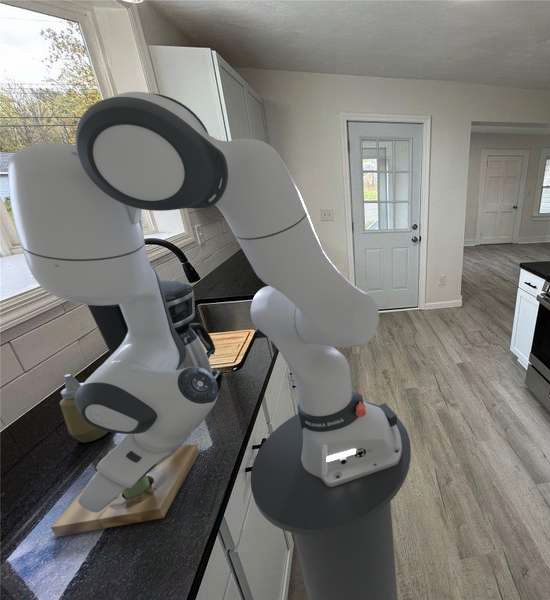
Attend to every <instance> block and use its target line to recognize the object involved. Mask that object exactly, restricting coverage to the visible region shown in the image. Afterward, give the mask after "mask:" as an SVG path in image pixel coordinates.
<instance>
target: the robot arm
mask: <svg viewBox="0 0 550 600" xmlns="http://www.w3.org/2000/svg"><path fill="white" fill-rule="evenodd" d="M74 136H75V137H74V139H75V140H74V144H72V143H71V144H70V143H62V142H44V143H38V144H37V143H36V144H32V145H29V146H25V147H23V148H20V149H19V150H17V151H16V152H15V153H14V154H13V155H12V156H11V157H10V159H9V161H8V165H7V179H8V180H7V183H8V193H9V202H10V208H11V214H12V219H13V223H14V227H15V231H16V234H17V237H18V238H17V239H18V241H19V244H20V246H21V250H22V252H23V256H24V259H25V262H26V265H27V267H28V269H29V271H30V273H31V275H32V276H33V278H34V280H35V281H36V282H37V283H38V285H39V286H40V288H42V289H43V290H44V291H45V292H47V293H49V294H50V295H52V296H54V297H56V298H58V299H61V300H64V301H65V302H70V303H74V304H78V305H84V306H88V305H97V306H104V305H117V304H119V306H120V308H121V311H122V313H123V316H124V319H125V321H126V324H127V326H128V333H127V335H126V337H125V339H124V341H123V342H122V344H121V345H120V346H119V348H118V349H117V350H116V351H115V352H114V353H113V354H112V355H111V354H110V356H109V357H107V358H106V360H105V361H104V362H103V363H102V364H101V365H100V366H99V367H97V368H96V370H94V372H93V373H91V375H90V376H89V377H88V378H87V379H86V380H84V382H82V383H83V384H82V385H81V386H80V387H79V388H78V389H77V391H76V392H75V405H76V408H77V410H78V412H79V413H80V415H81V416H82V417H83V418H84V419H85V420H86V422H88V423H89V424H90V425H92V426H94V427H97V428H99V429H102V430H105V431H109V432H108V433H114V434H122V435H123V437H122V438H121V440H120V441H118V442H117V444H116V445H115V446H114V447H113V448H111V449H112V450H111V449H110V450H111V451H110V450H109V451H110V452H109V451H108V452H109V453H108V452H107V453H108V454H107V453H106V454H105V455H104V457H103V458H102V459H100V461H99V462H98V463H97V465H96V467H95V468H96V470H97V471H96V472H95V474H94V475H93V476H92V477H91V479H90V480H89V482H88V483H87V484H86V486H85V487H86V488H85V487H84V488H85V489H84V488H83V489H84V491H83V490H82V491H83V492H82V491H81V492H82V494H81V496H80V497H79V500H78V503H79V504H80V505H81V506H82V507H84V508H86V509H87V510H89V511H91V512H94V513H97V512H100V511H101V510H103V509H104V508H105V507H106V506H107V505H108V504H110V503H111V502H112V501H113V500H114V499H115V498H116V497H117V496H119V495H120V494H121V493H122V492H123V491H124V490H125V489H126V488H132V487H133V486H134V485H135V484H136V483H138V482H139V481H140V480H141V479H142V478H143V477H144V476H145V475H146V474H147V473H148V472H150V471H151V470H152V469H153V468H154V467H156V466H157V465H159V464H160V463H162V462H163V461H164V460H166V459H167V458H169V457H170V456H172V455H173V454H174V453H175V452H176V451H177V450H178V449H179V448H180V446H183V444H184V443H185V442H187V440H188V439H189V437H190V436H191V435H192V433H193V431H194V430H196V429H197V428H198V427H199V426H200V425H201V424H202V423H203V421H204V420H205V419H206V418H207V416H208V415H209V413H211V411H212V410H213V408H214V406H215V404H216V403H217V399H218V396H219V386H218V382H217V379H216V380H215V378H214V376H213V375H212V374H211V373H210V372H208V371H207V370H205V369H203V368H200V367H187V368H184V369H181V370H177V369H178V368H179V367H180V366H181V364H182V363H183V362H184V360H185V358H186V348H185V345H184V343H183V341H182V340H181V338H180V337H179V335H178V334H177V332H176V331H175V329H174V327H173V324H172V321H171V318H170V314H169V310H168V307H167V303H166V299H165V295H164V291H163V288H162V285H161V281H160V280H161V279H160V276H159V274H158V272H157V270H156V268H155V266H154V265H153V264H152V263H151V262H150V261H149V257H148V253H147V248H146V241H145V234H144V229H143V221H142V211H143V210H145V211H154V212H155V211H157V212H161V211H163V212H165V211H176V210H181V209H210V208H213V207H214V206H216V208H218V210H219V211H220V213H221V214H222V216H223V217H224V219H225V221H226V223H227V225H228V226H229V227H230V230H231V232H232V233H233V235H234V237H235V239H236V241H237V243H238V244H239V246H240V248H241V250H242V251H243V253H244V255H245V257H246V258H247V260H248V262H249V264H250V265H251V268H252V270H253V271H254V273H255V274H256V276H257V277H258V278H259V279H260V280H261V281H262V282H263V283H264V284H265V285H266V286H264V287H261V288H260V289H259V290H258V291H257V292H256V294H255V295H254V297H253V299H252V301H251V304H250V318H251V321H252V324H253V326H254V327H255V328H256V329H257V330H258V331H260V332H261V333H262V334H264V335H265V337H267V338H268V339H269V340H270V342H271V343H272V344H273V346H275V347H276V349H277V350H278V352H279V353H280V354H281V356H282V357H283V359H284V361H285V363H286V365H287V366H288V368H289V370H290V373H291V375H292V378H293V381H294V385H295V390H296V391H295V392H296V395H297V400H298V401H297V402H298V404H297V414H298V417H299V422H300V424H301V428H302V429H303V448H302V454H301V461H302V465H303V467H304V468H305V469H306V470H307V471H308V472H309V473H311V474H312V475H315V476H317V477H319V478H321V479H322V480H323V482H324V483H325V484H326V485H327V486H329V487H334V486H337V485H340V484H343V483H346V482H348V481H351V480H354V479H357V478H360V477H363V476H366V475H369V474H372V473H375V472H377V471H380V470H383V469H386V468H389V467H392V466H395V465H397V464H398V462H399V461H400V458H401V455H402V442H401V437H400V433H399V430H398V428H397V426H396V424H397V418H398V415H397V414H396V412H394V410H392V408H390V407H389V405H387V403H386V402H384V403H382V404H378V405H379V406H378V407H376V406H373V405H371V404H368V403H365V402H366V401H364V398H363V394H362V392H361V389H360V387H358V388H357V390H358V391H357V390H354V389H353V384H352V376H351V369H350V364H349V361H348V360H347V358H346V356H345V355H344V354H343V353H342V352H340V351H339V350H338V349H337V348H352V347H362V346H365V345H367V344H368V343H369V342H370V341H371V340H372V339H373V337H374V336H375V335H376V333H377V330H378V327H379V323H380V311H379V308H378V305H377V303H376V300H375V299H374V297H372V295H371V294H369V293H367V292H366V291H364V290H362V289H360V288H358V287H357V286H356V285H355V284H353V283H352V282H351V281H349V279H347V278H346V277H345V276H344V274H342V273H341V271H339V270H338V268H337V267H336V266H335V265H334V264H333V262H332V261H331V260H330V258H329V257H328V256H327V254H326V252H325V251H324V249H323V247H322V245H321V243H320V240H319V238H318V236H317V233H316V231H315V228H314V226H313V223H312V220H311V218H310V215H309V212H308V211H307V208H306V205H305V203H304V199H303V197H302V195H301V194H300V191H299V189H298V187H297V185H296V182H295V181H294V179H293V176H292V174H291V173H290V171H289V169H288V167H287V165H286V164H285V163H284V161H283V159H282V158H281V156H280V154H279V153H278V151H277V150H276V149H275V148H274V147H273V146H272V145H271V144H268V143H267V142H265V141H263V140H260V139H255V138H245V137H243V138H235V139H231V140H229V141H227V140H221V139H217V138H216V137H214V136H211V135H210V133H209V131H208V129H207V128H206V126H205V124H204V123H203V121H202V120H201V119H200V117H198V116H197V114H196V113H195V112H194V111H192V109H190V108H189V107H188V106H186V105H185V104H183V103H182V102H181V101H178V100H177V99H174V98H172V97H170V96H167V95H163V94H158V93H152V92H150V93H149V92H146V91H127V92H122V93H118V94H114V95H113V96H110V97H108V98H105V99H102V100H99V101H97V102H95V103H93V104H92V105H91V106H89V107H87V109H86V110H85V111H84V112H83V114H82V115H81V117H80V119H79V121H78V123H77V127H76V129H75V135H74ZM363 401H364V402H363ZM396 452H398V453H396ZM337 478H338V479H337Z"/></svg>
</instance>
